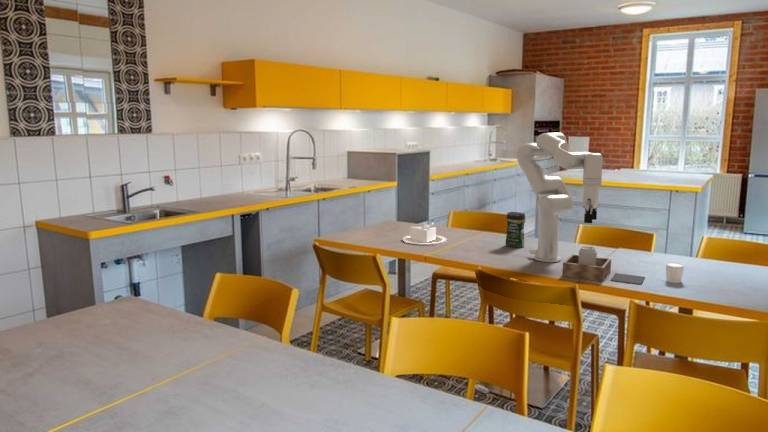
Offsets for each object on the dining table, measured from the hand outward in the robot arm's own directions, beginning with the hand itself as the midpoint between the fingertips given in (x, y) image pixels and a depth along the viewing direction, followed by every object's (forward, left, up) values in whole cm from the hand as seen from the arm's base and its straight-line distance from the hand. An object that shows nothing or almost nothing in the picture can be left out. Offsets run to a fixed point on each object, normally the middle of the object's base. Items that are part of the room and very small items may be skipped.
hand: (590, 221), depth 248 cm
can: (0, 0, -24) cm, 24 cm away
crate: (0, 0, -24) cm, 24 cm away
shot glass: (+34, +7, -24) cm, 42 cm away
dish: (-94, +26, -24) cm, 101 cm away
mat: (+17, 0, -24) cm, 29 cm away
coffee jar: (-45, +37, -24) cm, 63 cm away
